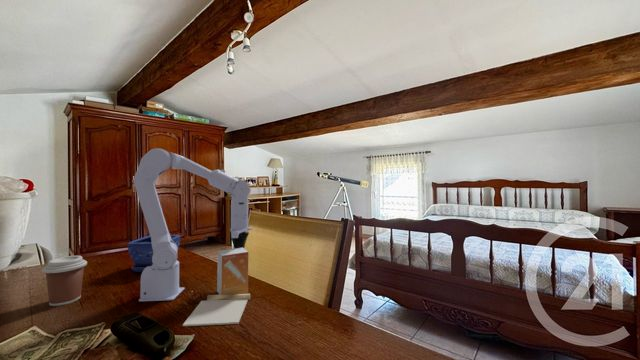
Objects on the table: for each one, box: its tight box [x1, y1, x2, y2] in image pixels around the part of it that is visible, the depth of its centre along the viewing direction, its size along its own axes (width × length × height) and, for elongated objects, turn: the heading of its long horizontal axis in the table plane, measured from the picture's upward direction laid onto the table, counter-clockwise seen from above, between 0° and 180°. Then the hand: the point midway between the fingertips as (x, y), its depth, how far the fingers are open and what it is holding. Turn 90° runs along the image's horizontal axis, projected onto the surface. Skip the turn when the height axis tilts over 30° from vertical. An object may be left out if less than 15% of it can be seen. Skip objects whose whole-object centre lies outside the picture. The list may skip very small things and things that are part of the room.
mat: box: [182, 299, 249, 327], centre depth 67 cm, size 13×12×1 cm
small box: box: [216, 247, 249, 295], centre depth 78 cm, size 8×6×13 cm
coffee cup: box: [41, 255, 88, 307], centre depth 73 cm, size 9×9×12 cm
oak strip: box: [206, 293, 251, 301], centre depth 73 cm, size 12×1×2 cm, turn 96°
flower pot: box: [127, 234, 181, 273], centre depth 100 cm, size 13×13×12 cm
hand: (239, 254), depth 87 cm, fingers closed
